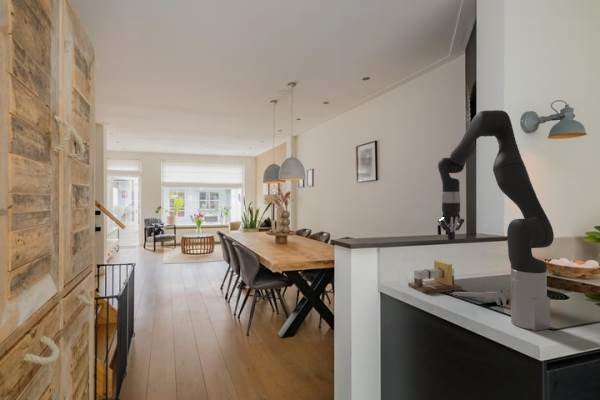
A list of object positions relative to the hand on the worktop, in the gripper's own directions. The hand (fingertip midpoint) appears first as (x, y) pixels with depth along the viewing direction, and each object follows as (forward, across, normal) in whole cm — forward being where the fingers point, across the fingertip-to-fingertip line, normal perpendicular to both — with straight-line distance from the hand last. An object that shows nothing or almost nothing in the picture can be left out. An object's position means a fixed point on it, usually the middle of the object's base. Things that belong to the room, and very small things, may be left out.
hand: (451, 240), depth 151 cm
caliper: (+20, -7, -22) cm, 31 cm away
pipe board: (+20, -12, -3) cm, 23 cm away
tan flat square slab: (+18, -7, -3) cm, 20 cm away
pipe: (+15, -11, -3) cm, 19 cm away
